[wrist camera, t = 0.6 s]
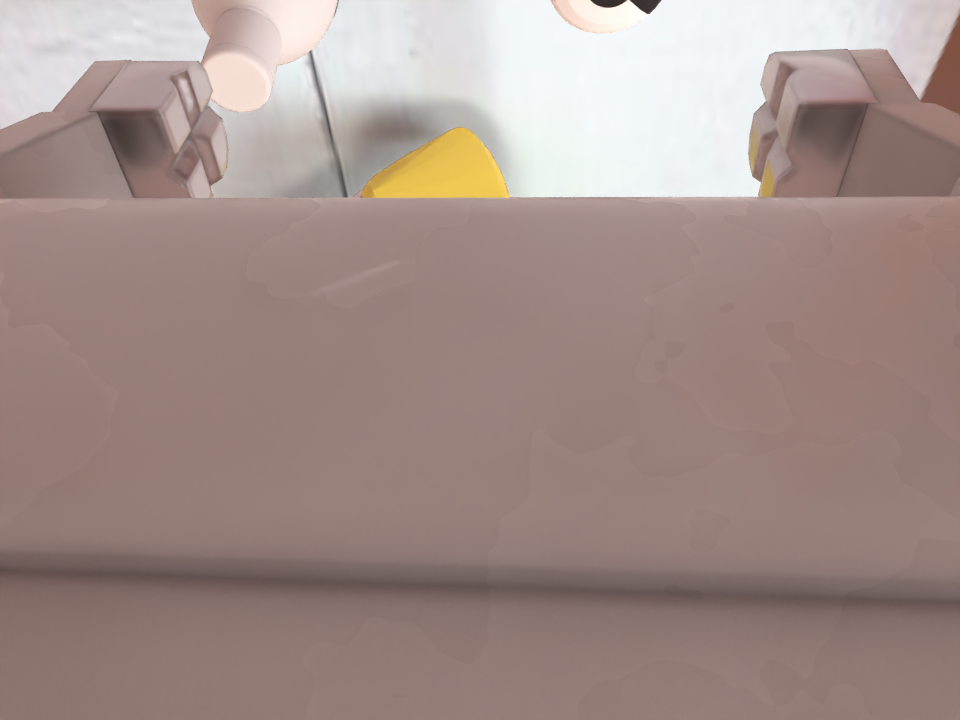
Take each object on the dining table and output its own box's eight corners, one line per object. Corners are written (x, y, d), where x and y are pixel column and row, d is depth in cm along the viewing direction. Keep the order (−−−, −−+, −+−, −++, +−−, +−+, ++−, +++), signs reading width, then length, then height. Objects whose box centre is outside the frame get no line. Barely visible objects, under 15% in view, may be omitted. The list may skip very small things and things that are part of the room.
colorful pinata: (194, 278, 45) (506, 717, 54) (557, 55, 56) (768, 451, 65) (152, 310, 74) (361, 593, 82) (398, 158, 84) (559, 423, 93)
